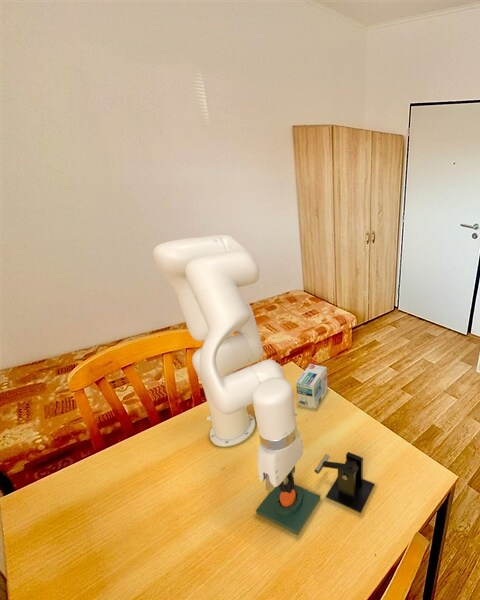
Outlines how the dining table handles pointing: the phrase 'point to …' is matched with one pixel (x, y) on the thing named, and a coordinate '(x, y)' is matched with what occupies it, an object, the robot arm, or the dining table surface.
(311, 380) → the light bulb box
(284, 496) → the button
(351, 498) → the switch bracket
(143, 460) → the dining table surface
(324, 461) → the switch lever
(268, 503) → the control block
